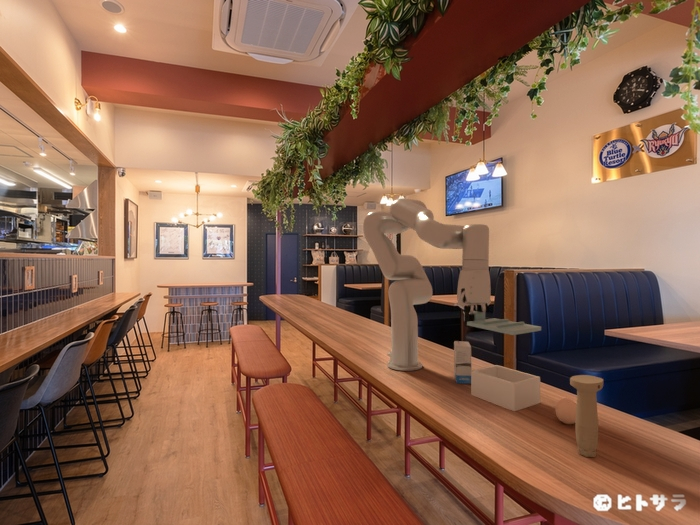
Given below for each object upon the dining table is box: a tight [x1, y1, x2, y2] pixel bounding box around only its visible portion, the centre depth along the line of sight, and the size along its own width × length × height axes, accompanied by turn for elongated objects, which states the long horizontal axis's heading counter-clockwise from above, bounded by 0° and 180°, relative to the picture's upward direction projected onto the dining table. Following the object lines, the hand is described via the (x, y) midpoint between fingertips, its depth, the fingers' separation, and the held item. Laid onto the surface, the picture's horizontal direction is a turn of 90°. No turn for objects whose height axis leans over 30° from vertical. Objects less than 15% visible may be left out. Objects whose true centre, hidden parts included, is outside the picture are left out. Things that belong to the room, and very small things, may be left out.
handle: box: [569, 374, 604, 458], centre depth 76 cm, size 5×6×15 cm
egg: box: [555, 397, 577, 425], centre depth 90 cm, size 5×5×6 cm
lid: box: [463, 310, 542, 336], centre depth 109 cm, size 20×12×3 cm, turn 31°
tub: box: [470, 364, 541, 412], centre depth 106 cm, size 14×11×7 cm
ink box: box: [453, 340, 473, 385], centre depth 123 cm, size 9×5×12 cm, turn 168°
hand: (474, 325), depth 115 cm, fingers closed on lid, 3 cm apart
